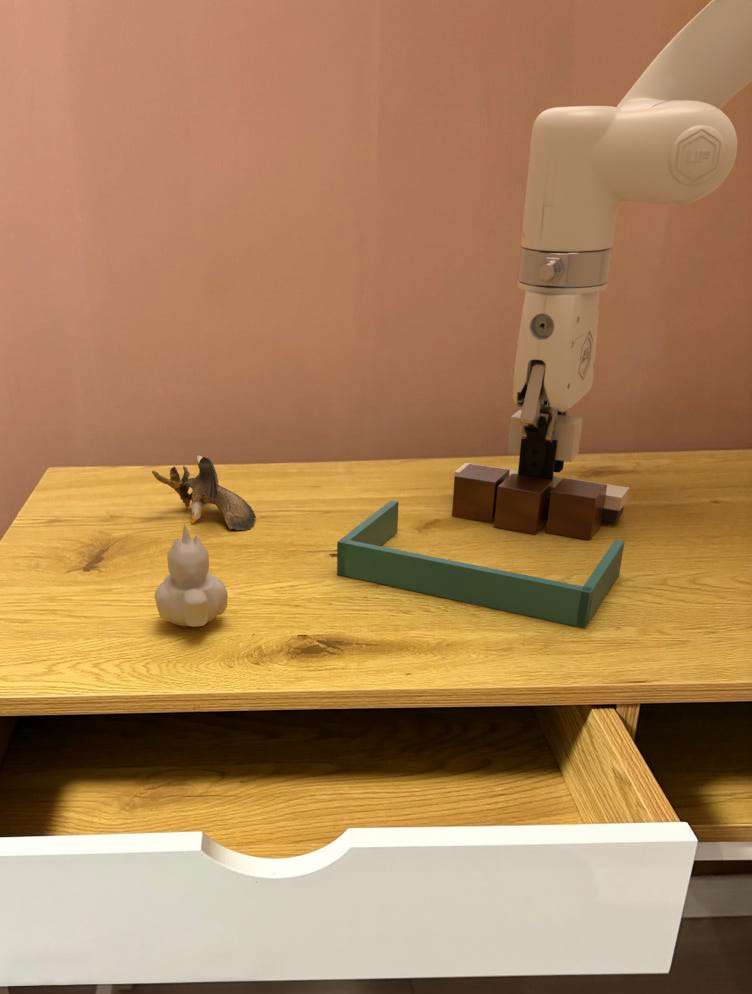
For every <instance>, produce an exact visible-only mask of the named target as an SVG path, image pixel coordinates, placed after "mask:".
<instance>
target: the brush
mask: <svg viewBox="0 0 752 994" xmlns="http://www.w3.org/2000/svg"><path fill="white" fill-rule="evenodd" d="M521 413H522V409H519V410H517V411H516V412H515V413H513V414H512V415H511V416H510V421H509V432H508V443H507V454H511V455H512V454H513V455H518V456H520V448H521V438H522V437H521V434H522V424H521V423H520V417H521ZM540 414H541V413H540ZM541 416H544V417H546V420H548V414H541ZM583 420H584V417H581V416H580V417H579V416H572V415H570V416H565V415H557V421H556V429H555V436H554V440H558V441H557V450H556V458H555V460H560V461H564V462H569V463H572V461H573V460H575V458H577V456H578V455H579V453H580V443H581V437H582V436H581V435H582V429H583ZM469 464H472V463H471V462H470V463H469V462H465V463H464V464H462V465H461V466H460V467H458V469H456V470H455V471H454V475H453V476H454V477H455V475H457V474H458V473H459V472H460V471H462V470H463V469H464V468H465V467H466V466H468V465H469ZM474 464H475V465H478V464H476V463H474ZM480 465H481V466H485V465H483V464H480ZM487 466H488V467H492V466H490V465H487ZM494 467H495V468H498V467H497V466H494ZM500 468H501V469H505V468H503V467H500ZM507 469H508V470H510V472H509V476H510V475H511V474H518V469H511V468H507ZM454 477H453V478H454ZM563 478H564V477H563V476H556V475H553V480H554V483H553V489H554V488H555V487H556V485H557V484H558V483H559V482H560V481H561V480H562V479H563ZM566 478H567V479H571V477H566ZM572 479H573V480H578V479H576V478H572ZM579 480H580V481H584V480H582V479H579ZM585 481H586V482H591V481H590V480H589V481H588V480H585ZM592 482H593V483H597V482H596V481H592ZM598 483H599V484H604V482H603V483H602V482H598ZM605 484H606V485H607V490H606V497H605V503H604V510H603V517H602V521H608V522H614V523H617V521H618V520H619V519H620V518H621V516H622V515H623V514H624V509H625V505H626V503H627V502H628V500H629V494H630V487H628V486H624V485H623V486H622V485H617V484H611V483H610V484H609V483H605Z"/></svg>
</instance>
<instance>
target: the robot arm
mask: <svg viewBox="0 0 752 994" xmlns="http://www.w3.org/2000/svg"><path fill="white" fill-rule="evenodd" d="M750 83H752V0H711V1H709V2H708V3H707V4H706V5H705V6H704V7H703V8H702V9H701V10H700V11H699V12H697V13H696V14H695V16H694V17H693V18H692V19H690V20H689V22H688V23H686V25H684V26H683V28H681V30H679V32H677V34H675V36H673V38H672V39H670V41H669V42H668V43H667V44H666V45H665V46H664V47H663V49H662V50H661V51H660V52H659V53H658V54H657V55H656V56H655V58H654V59H653V60H652V62H651V63H650V64H649V65H648V66H647V67H646V69H645V70H644V71H643V73H642V74H641V75H640V76H639V78H638V79H637V80H636V81H635V83H634V84H633V85H632V87H630V89H629V90H628V92H627V93H626V94H625V95H624V97H623V98H622V99H621V101H620V102H619V103H617V106H610V105H574V106H557V107H551V108H547V109H546V110H543V111H542V112H541V113H540V114H538V116H537V117H536V118H535V120H534V122H533V125H532V130H531V135H530V136H531V137H530V146H529V154H528V155H529V157H528V168H527V177H526V178H527V179H526V188H525V200H524V208H523V210H524V211H523V220H522V232H521V243H520V253H519V264H518V266H519V267H518V276H517V285H516V287H517V289H519V290H522V291H524V292H525V295H524V301H523V307H522V312H521V319H520V326H519V330H518V337H517V338H518V339H517V345H516V353H515V361H514V362H515V363H514V371H513V372H514V373H513V381H512V383H513V384H512V401H513V403H514V404H515V405H516V406H517V407H518V408H522V409H521V410H522V413H521V417H520V423H521V424H522V434H521V437H522V438H521V448H520V455H519V457H518V459H519V461H518V468H517V471H518V474H519V475H525V476H532V477H538V478H545V479H551V480H553V476H554V473H557V474H558V473H560V472H562V471H563V470H564V466H565V461H560V460H555V458H556V450H557V441H558V440H554V436H555V429H556V421H557V415H565V416H571V409H572V407H573V406H575V405H576V404H577V403H578V402H580V400H582V398H584V397H585V395H587V394H589V392H590V391H591V389H592V386H593V384H594V374H595V367H596V366H595V364H596V355H597V354H596V352H597V344H598V333H599V331H598V330H599V321H600V319H599V317H600V293H601V292H604V291H606V290H607V289H608V285H609V276H610V268H611V262H612V254H613V248H614V247H613V246H614V240H615V233H616V227H617V226H616V225H617V219H618V218H617V217H618V210H619V204H620V202H623V201H624V202H638V203H648V204H655V205H662V206H683V205H687V204H692V203H694V202H698V201H700V200H701V199H704V198H706V197H707V196H709V195H710V194H712V193H714V191H716V190H717V189H718V188H719V187H720V186H721V185H722V184H723V182H724V181H725V180H726V179H727V178H728V176H729V175H730V173H731V171H732V169H733V167H734V164H735V163H736V158H737V153H738V135H737V132H736V129H735V126H734V124H733V122H732V121H731V119H730V118H729V117H728V116H727V115H726V114H725V113H724V111H722V110H721V109H722V108H723V107H724V106H725V105H726V104H727V103H728V102H730V100H732V99H733V97H734V96H735V95H736V94H738V93H739V92H740V91H741V90H743V89H744V88H745V87H746V86H748V85H749V84H750ZM540 413H541V414H548V420H546V417H544V416H541V414H540Z"/></svg>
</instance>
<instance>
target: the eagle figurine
mask: <svg viewBox="0 0 752 994" xmlns="http://www.w3.org/2000/svg"><path fill="white" fill-rule="evenodd" d="M196 462H197V467H198V469H199V472H198V475H196V476H194V477H190V475H191V473H190V471H189V470H188V468H187V467H186V466H185V465H183V466H182V469H183V473H182V474H183V475H182V477H180V473H179V472H178V470H177V468H176V466H173V467H171V468H170V470H169V478H167V477H165V476H163V475H161V474H159V472H157V471H155V470H152V471H151V473H152V475H153V476H154V478H155V479H156V480H157V482H160V483H161V484H164V485H167V486H169V487H170V488H171V489H173V490H174V492H176V493H177V494H178V496H179V499H180V500H181V501H182V503H183V504H184V506H185V507H186V508H189V507H190V503H191V522H190V524H191V525H194V524H195V523H196V521H197V520H199V519H200V518H201V517H202V513H203V509H204V507H205V505H206V504H212V505H214V506H216V507H217V509H218V510H219V511H220V512H221V514H222V515H223V519H224V521H225V524H226V526H228V528H229V530H232V529H234V530H235V531H240V530H241V531H247V530H252V527H253V526H254V525H255V522H256V519H257V516H256V514H255V511H254V509H253V508H252V506H250V504H248V502H247V501H246V500H245V499H243V497H241V496H240V495H239V494H236V493H235V492H233V491H231V490H229V489H228V488H226V487H223V486H221V485H220V484H219V478H218V473H217V470H216V468H215V466H214V463H213V462H212V460H211V458H209V457H205V456H202V455H199V454H198V455H196ZM190 488H191V489H192V491H191V492H190V493H189V490H190Z"/></svg>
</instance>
